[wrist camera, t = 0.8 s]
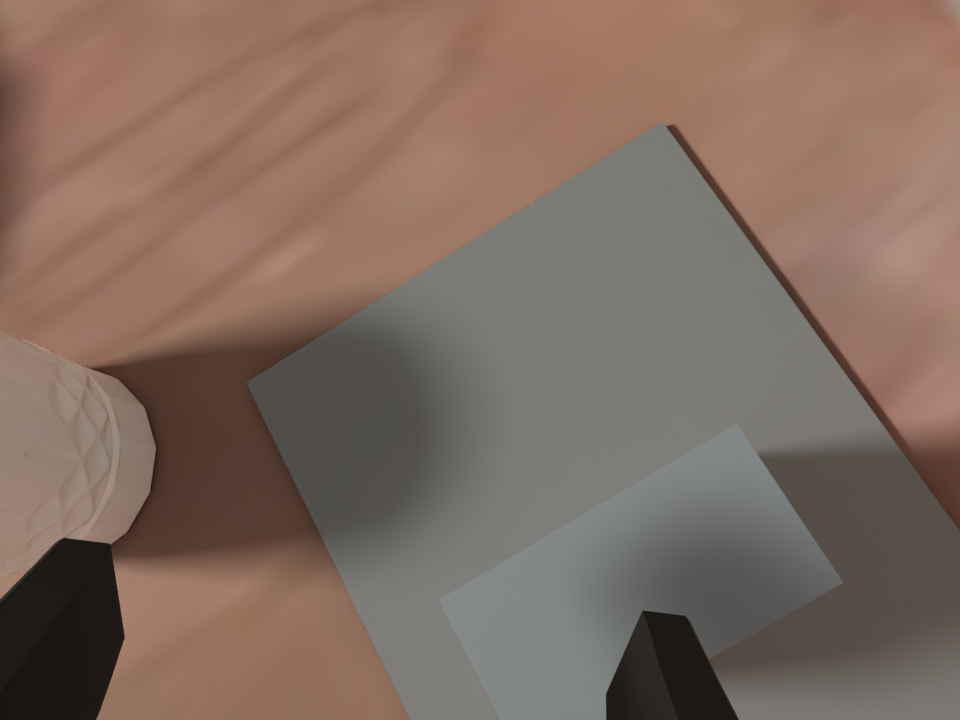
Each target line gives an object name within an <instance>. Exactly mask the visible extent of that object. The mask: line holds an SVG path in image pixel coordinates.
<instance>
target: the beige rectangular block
mask: <svg viewBox="0 0 960 720" xmlns="http://www.w3.org/2000/svg"><path fill="white" fill-rule="evenodd" d="M842 583H843V581H842V580H841V578H840V577H839V575H838V574H837V572H836V571H835V569H834V568H833V566H832V565H831V563H830V562H829V560H828V559H827V557H826V556H825V554H824V553H823V551H822V550H821V548H820V547H819V545H818V544H817V543H816V541H815V540H814V538H813V537H812V535H811V534H810V532H809V531H808V529H807V528H806V526H805V525H804V523H803V522H802V520H801V519H800V517H799V516H798V514H797V513H796V511H795V510H794V508H793V507H792V505H791V504H790V502H789V501H788V499H787V498H786V496H785V495H784V493H783V492H782V490H781V489H780V487H779V486H778V484H777V483H776V481H775V480H774V478H773V477H772V475H771V474H770V472H769V471H768V469H767V468H766V466H765V465H764V463H763V462H762V460H761V459H760V457H759V456H758V454H757V453H756V451H755V450H754V448H753V447H752V445H751V444H750V443H749V441H748V440H747V438H746V437H745V435H744V434H743V432H742V431H741V429H740V428H739V426H738V425H737V424H735V425H733V426H732V427H730V428H728V429H727V430H725V431H723V432H722V433H720V434H718V435H717V436H715V437H713V438H711V439H710V440H708V441H706V442H705V443H703V444H701V445H700V446H698V447H696V448H695V449H693V450H691V451H689V452H688V453H686V454H684V455H683V456H681V457H679V458H678V459H676V460H674V461H673V462H671V463H669V464H667V465H666V466H664V467H662V468H661V469H659V470H657V471H656V472H654V473H652V474H651V475H649V476H647V477H645V478H644V479H642V480H640V481H639V482H637V483H635V484H634V485H632V486H630V487H629V488H627V489H625V490H624V491H622V492H620V493H618V494H617V495H615V496H613V497H612V498H610V499H608V500H607V501H605V502H603V503H602V504H600V505H598V506H596V507H595V508H593V509H591V510H590V511H588V512H586V513H585V514H583V515H581V516H580V517H578V518H576V519H574V520H573V521H571V522H569V523H568V524H566V525H564V526H563V527H561V528H559V529H558V530H556V531H554V532H553V533H551V534H549V535H547V536H546V537H544V538H542V539H541V540H539V541H537V542H536V543H534V544H532V545H531V546H529V547H527V548H525V549H524V550H522V551H520V552H519V553H517V554H515V555H514V556H512V557H510V558H509V559H507V560H505V561H503V562H502V563H500V564H498V565H497V566H495V567H493V568H492V569H490V570H488V571H487V572H485V573H483V574H481V575H480V576H478V577H476V578H475V579H473V580H471V581H470V582H468V583H466V584H465V585H463V586H461V587H460V588H458V589H456V590H454V591H453V592H451V593H449V594H448V595H446V596H444V597H443V598H441V599H439V602H440V604H441V606H442V608H443V610H444V612H445V614H446V616H447V618H448V620H449V622H450V624H451V625H452V627H453V629H454V631H455V633H456V635H457V637H458V639H459V641H460V643H461V645H462V647H463V649H464V650H465V652H466V654H467V656H468V658H469V660H470V662H471V664H472V666H473V668H474V670H475V672H476V674H477V676H478V677H479V679H480V681H481V683H482V685H483V687H484V689H485V691H486V693H487V695H488V697H489V699H490V701H491V702H492V704H493V706H494V708H495V710H496V712H497V714H498V716H499V718H500V720H603V719H605V718H606V692H607V690H608V688H609V686H610V683H611V681H612V679H613V676H614V674H615V672H616V670H617V667H618V665H619V663H620V660H621V658H622V656H623V654H624V651H625V649H626V647H627V644H628V642H629V640H630V638H631V635H632V633H633V631H634V628H635V626H636V624H637V622H638V619H639V617H640V615H641V612H642V610H644V611H652V612H660V613H668V614H676V615H684V616H686V617H687V618H688V620H689V621H690V622H691V624H692V626H693V629H694V631H695V633H696V635H697V637H698V639H699V641H700V643H701V645H702V647H703V649H704V651H705V653H706V656H707V658H708V660H709V659H710V658H712V657H714V656H716V655H717V654H719V653H721V652H723V651H724V650H726V649H728V648H730V647H731V646H733V645H735V644H737V643H739V642H740V641H742V640H744V639H746V638H747V637H749V636H751V635H753V634H754V633H756V632H758V631H760V630H761V629H763V628H765V627H767V626H768V625H770V624H772V623H774V622H775V621H777V620H779V619H781V618H782V617H784V616H786V615H788V614H789V613H791V612H793V611H795V610H796V609H798V608H800V607H802V606H803V605H805V604H807V603H809V602H811V601H812V600H814V599H816V598H818V597H819V596H821V595H823V594H825V593H826V592H828V591H830V590H832V589H833V588H835V587H837V586H839V585H840V584H842Z"/></svg>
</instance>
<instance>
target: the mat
mask: <svg viewBox="0 0 960 720" xmlns="http://www.w3.org/2000/svg"><path fill="white" fill-rule="evenodd" d="M246 384H247V386H248V388H249V390H250V392H251V394H252V396H253V398H254V400H255V402H256V405H257V407H258V409H259V411H260V413H261V415H262V417H263V419H264V421H265V423H266V425H267V427H268V429H269V431H270V433H271V435H272V437H273V439H274V441H275V443H276V446H277V448H278V450H279V452H280V454H281V456H282V458H283V460H284V462H285V464H286V466H287V468H288V470H289V472H290V474H291V476H292V478H293V480H294V482H295V484H296V486H297V489H298V491H299V493H300V495H301V497H302V499H303V501H304V503H305V505H306V507H307V509H308V511H309V513H310V515H311V517H312V519H313V521H314V523H315V525H316V527H317V530H318V532H319V534H320V536H321V538H322V540H323V542H324V544H325V546H326V548H327V550H328V552H329V554H330V556H331V558H332V560H333V562H334V564H335V566H336V568H337V570H338V573H339V575H340V577H341V579H342V581H343V583H344V585H345V587H346V589H347V591H348V593H349V595H350V597H351V599H352V601H353V603H354V605H355V607H356V609H357V611H358V614H359V616H360V618H361V620H362V622H363V624H364V626H365V628H366V630H367V632H368V634H369V636H370V638H371V640H372V642H373V644H374V646H375V648H376V650H377V652H378V654H379V657H380V659H381V661H382V663H383V665H384V667H385V669H386V671H387V673H388V675H389V677H390V679H391V681H392V683H393V685H394V687H395V689H396V691H397V693H398V695H399V698H400V700H401V702H402V704H403V706H404V708H405V710H406V712H407V714H408V716H409V718H410V720H500V718H499V716H498V714H497V712H496V710H495V708H494V706H493V704H492V702H491V701H490V699H489V697H488V695H487V693H486V691H485V689H484V687H483V685H482V683H481V681H480V679H479V677H478V676H477V674H476V672H475V670H474V668H473V666H472V664H471V662H470V660H469V658H468V656H467V654H466V652H465V650H464V649H463V647H462V645H461V643H460V641H459V639H458V637H457V635H456V633H455V631H454V629H453V627H452V625H451V624H450V622H449V620H448V618H447V616H446V614H445V612H444V610H443V608H442V606H441V604H440V602H439V599H441V598H443V597H444V596H446V595H448V594H449V593H451V592H453V591H454V590H456V589H458V588H460V587H461V586H463V585H465V584H466V583H468V582H470V581H471V580H473V579H475V578H476V577H478V576H480V575H481V574H483V573H485V572H487V571H488V570H490V569H492V568H493V567H495V566H497V565H498V564H500V563H502V562H503V561H505V560H507V559H509V558H510V557H512V556H514V555H515V554H517V553H519V552H520V551H522V550H524V549H525V548H527V547H529V546H531V545H532V544H534V543H536V542H537V541H539V540H541V539H542V538H544V537H546V536H547V535H549V534H551V533H553V532H554V531H556V530H558V529H559V528H561V527H563V526H564V525H566V524H568V523H569V522H571V521H573V520H574V519H576V518H578V517H580V516H581V515H583V514H585V513H586V512H588V511H590V510H591V509H593V508H595V507H596V506H598V505H600V504H602V503H603V502H605V501H607V500H608V499H610V498H612V497H613V496H615V495H617V494H618V493H620V492H622V491H624V490H625V489H627V488H629V487H630V486H632V485H634V484H635V483H637V482H639V481H640V480H642V479H644V478H645V477H647V476H649V475H651V474H652V473H654V472H656V471H657V470H659V469H661V468H662V467H664V466H666V465H667V464H669V463H671V462H673V461H674V460H676V459H678V458H679V457H681V456H683V455H684V454H686V453H688V452H689V451H691V450H693V449H695V448H696V447H698V446H700V445H701V444H703V443H705V442H706V441H708V440H710V439H711V438H713V437H715V436H717V435H718V434H720V433H722V432H723V431H725V430H727V429H728V428H730V427H732V426H733V425H735V424H737V425H738V426H739V428H740V429H741V431H742V432H743V434H744V435H745V437H746V438H747V440H748V441H749V443H750V444H751V445H752V447H753V448H754V450H755V451H756V453H757V454H758V456H759V457H760V459H761V460H762V462H763V463H764V465H765V466H766V468H767V469H768V471H769V472H770V474H771V475H772V477H773V478H774V480H775V481H776V483H777V484H778V486H779V487H780V489H781V490H782V492H783V493H784V495H785V496H786V498H787V499H788V501H789V502H790V504H791V505H792V507H793V508H794V510H795V511H796V513H797V514H798V516H799V517H800V519H801V520H802V522H803V523H804V525H805V526H806V528H807V529H808V531H809V532H810V534H811V535H812V537H813V538H814V540H815V541H816V543H817V544H818V545H819V547H820V548H821V550H822V551H823V553H824V554H825V556H826V557H827V559H828V560H829V562H830V563H831V565H832V566H833V568H834V569H835V571H836V572H837V574H838V575H839V577H840V578H841V580H842V581H843V583H842V584H840V585H839V586H837V587H835V588H833V589H832V590H830V591H828V592H826V593H825V594H823V595H821V596H819V597H818V598H816V599H814V600H812V601H811V602H809V603H807V604H805V605H803V606H802V607H800V608H798V609H796V610H795V611H793V612H791V613H789V614H788V615H786V616H784V617H782V618H781V619H779V620H777V621H775V622H774V623H772V624H770V625H768V626H767V627H765V628H763V629H761V630H760V631H758V632H756V633H754V634H753V635H751V636H749V637H747V638H746V639H744V640H742V641H740V642H739V643H737V644H735V645H733V646H731V647H730V648H728V649H726V650H724V651H723V652H721V653H719V654H717V655H716V656H714V657H712V658H710V659H709V662H710V664H711V666H712V668H713V670H714V672H715V674H716V676H717V678H718V680H719V682H720V684H721V686H722V688H723V690H724V692H725V693H726V695H727V697H728V699H729V701H730V703H731V705H732V707H733V709H734V711H735V713H736V715H737V717H738V719H739V720H960V531H959V529H958V528H957V526H956V525H955V524H954V522H953V521H952V519H951V518H950V517H949V515H948V514H947V513H946V511H945V510H944V508H943V507H942V506H941V504H940V503H939V502H938V500H937V499H936V497H935V496H934V495H933V493H932V492H931V491H930V489H929V488H928V486H927V485H926V484H925V482H924V481H923V480H922V478H921V477H920V475H919V474H918V473H917V471H916V470H915V469H914V467H913V466H912V464H911V463H910V462H909V460H908V459H907V458H906V456H905V455H904V453H903V452H902V451H901V449H900V448H899V447H898V445H897V444H896V442H895V441H894V440H893V438H892V437H891V435H890V434H889V433H888V431H887V430H886V429H885V427H884V426H883V424H882V423H881V422H880V420H879V419H878V418H877V416H876V415H875V413H874V412H873V411H872V409H871V408H870V407H869V405H868V404H867V402H866V401H865V400H864V398H863V397H862V396H861V394H860V393H859V391H858V390H857V389H856V387H855V386H854V385H853V383H852V382H851V380H850V379H849V378H848V376H847V375H846V374H845V372H844V371H843V369H842V368H841V367H840V365H839V364H838V362H837V361H836V360H835V358H834V357H833V356H832V354H831V353H830V351H829V350H828V349H827V347H826V346H825V345H824V343H823V342H822V340H821V339H820V338H819V336H818V335H817V334H816V332H815V331H814V329H813V328H812V327H811V325H810V324H809V323H808V321H807V320H806V318H805V317H804V316H803V314H802V313H801V312H800V310H799V309H798V307H797V306H796V305H795V303H794V302H793V301H792V299H791V298H790V296H789V295H788V294H787V292H786V291H785V289H784V288H783V287H782V285H781V284H780V283H779V281H778V280H777V278H776V277H775V276H774V274H773V273H772V272H771V270H770V269H769V267H768V266H767V265H766V263H765V262H764V261H763V259H762V258H761V256H760V255H759V254H758V252H757V251H756V250H755V248H754V247H753V245H752V244H751V243H750V241H749V240H748V239H747V237H746V236H745V234H744V233H743V232H742V230H741V229H740V228H739V226H738V225H737V223H736V222H735V221H734V219H733V218H732V216H731V215H730V214H729V212H728V211H727V210H726V208H725V207H724V205H723V204H722V203H721V201H720V200H719V199H718V197H717V196H716V194H715V193H714V192H713V190H712V189H711V188H710V186H709V185H708V183H707V182H706V181H705V179H704V178H703V177H702V175H701V174H700V172H699V171H698V170H697V168H696V167H695V166H694V164H693V163H692V161H691V160H690V159H689V157H688V156H687V155H686V153H685V152H684V150H683V149H682V148H681V146H680V145H679V143H678V142H677V141H676V139H675V138H674V137H673V135H672V134H671V132H670V131H669V130H668V128H667V127H666V126H665V124H664V123H663V122H661V123H660V124H658V125H656V126H655V127H653V128H652V129H650V130H648V131H647V132H645V133H644V134H642V135H640V136H639V137H637V138H636V139H634V140H632V141H631V142H629V143H628V144H626V145H624V146H623V147H621V148H620V149H618V150H616V151H615V152H613V153H612V154H610V155H608V156H607V157H605V158H604V159H602V160H600V161H599V162H597V163H596V164H594V165H592V166H591V167H589V168H588V169H586V170H584V171H583V172H581V173H580V174H578V175H576V176H575V177H573V178H572V179H570V180H568V181H567V182H565V183H564V184H562V185H561V186H559V187H557V188H556V189H554V190H553V191H551V192H549V193H548V194H546V195H545V196H543V197H541V198H540V199H538V200H537V201H535V202H533V203H532V204H530V205H529V206H527V207H525V208H524V209H522V210H521V211H519V212H517V213H516V214H514V215H513V216H511V217H509V218H508V219H506V220H505V221H503V222H501V223H500V224H498V225H497V226H495V227H493V228H492V229H490V230H489V231H487V232H485V233H484V234H482V235H481V236H479V237H477V238H476V239H474V240H473V241H471V242H469V243H468V244H466V245H465V246H463V247H461V248H460V249H458V250H457V251H455V252H454V253H452V254H450V255H449V256H447V257H446V258H444V259H442V260H441V261H439V262H438V263H436V264H434V265H433V266H431V267H430V268H428V269H426V270H425V271H423V272H422V273H420V274H418V275H417V276H415V277H414V278H412V279H410V280H409V281H407V282H406V283H404V284H402V285H401V286H399V287H398V288H396V289H394V290H393V291H391V292H390V293H388V294H386V295H385V296H383V297H382V298H380V299H378V300H377V301H375V302H374V303H372V304H370V305H369V306H367V307H366V308H364V309H362V310H361V311H359V312H358V313H356V314H354V315H353V316H351V317H350V318H348V319H347V320H345V321H343V322H342V323H340V324H339V325H337V326H335V327H334V328H332V329H331V330H329V331H327V332H326V333H324V334H323V335H321V336H319V337H318V338H316V339H315V340H313V341H311V342H310V343H308V344H307V345H305V346H303V347H302V348H300V349H299V350H297V351H295V352H294V353H292V354H291V355H289V356H287V357H286V358H284V359H283V360H281V361H279V362H278V363H276V364H275V365H273V366H271V367H270V368H268V369H267V370H265V371H263V372H262V373H260V374H259V375H257V376H255V377H254V378H252V379H251V380H249V381H248V382H246ZM603 720H606V718H605V719H603Z"/></svg>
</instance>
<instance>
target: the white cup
mask: <svg viewBox="0 0 960 720" xmlns="http://www.w3.org/2000/svg"><path fill="white" fill-rule="evenodd" d="M155 454H156V445H155V442H154V438H153V435H152V431H151V428H150V424H149V421H148V417H147V414H146V410H145V408H144V406H143V405H142V404H141V403H140V402H139V401H138V400H137V399H136V398H135V397H134V396H133V394H132V393H131V392H130V391H129V390H128V389H127V388H126V387H125V386H124V385H123V384H122V383H121V382H120V381H119V380H118V379H117V378H115V377H112V376H109V375H106V374H103V373H100V372H98V371H95V370H92V369H89V368H86V367H83V366H80V365H78V364H76V363H73V362H71V361H69V360H66V359H65V358H63V357H61V356H59V355H58V354H56V353H55V352H53V351H52V350H49V349H46V348H43V347H41V346H39V345H37V344H34V343H32V342H29V341H27V340H24V339H22V338H19V337H16V336H13V335H11V334H8V333H6V332H4V331H2V330H0V577H2V576H10V575H14V574H16V573H18V572H20V571H23V570H26V569H30V568H31V567H32V566H33V565H34V564H35V563H36V562H37V561H38V560H39V559H40V558H41V557H42V556H43V555H44V554H45V553H46V552H47V551H48V550H49V549H50V548H51V547H52V546H53V545H54V544H55V542H57V541H59V540H60V539H62V538H70V539H78V540H86V541H94V542H102V543H110V545H111V544H112V543H113V542H115V541H116V540H117V539H119V538H120V537H122V536H123V535H124V534H126V533H127V531H128V530H129V528H130V526H131V525H132V523H133V521H134V519H135V518H136V516H137V514H138V513H139V511H140V509H141V507H142V506H143V504H144V502H145V500H146V499H147V497H148V495H149V494H150V489H151V482H152V475H153V468H154V461H155Z"/></svg>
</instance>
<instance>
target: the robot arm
mask: <svg viewBox="0 0 960 720" xmlns="http://www.w3.org/2000/svg"><path fill="white" fill-rule="evenodd" d="M124 638H125V636H124V630H123V623H122V617H121V610H120V604H119V597H118V591H117V584H116V578H115V571H114V565H113V558H112V552H111V545H110V543H102V542H94V541H86V540H78V539H70V538H62V539H60V540H59V541H57V542H55V544H54V545H53V546H52V547H51V548H50V549H49V550H48V551H47V552H46V553H45V554H44V555H43V556H42V557H41V558H40V559H39V560H38V561H37V562H36V563H35V564H34V565H33V566H32V567H31V568H30V570H29V571H28V572H27V573H26V574H25V575H24V576H23V577H22V578H21V579H20V580H19V581H18V582H17V583H16V584H15V585H14V586H13V587H12V588H11V589H10V590H9V591H8V592H7V593H6V594H5V595H4V596H3V597H2V598H1V599H0V720H96V719H97V716H98V714H99V712H100V709H101V706H102V703H103V700H104V697H105V694H106V692H107V689H108V686H109V683H110V680H111V677H112V674H113V671H114V668H115V665H116V662H117V659H118V656H119V653H120V650H121V647H122V644H123V641H124ZM606 720H739V719H738V717H737V715H736V713H735V711H734V709H733V707H732V705H731V703H730V701H729V699H728V697H727V695H726V693H725V692H724V690H723V688H722V686H721V684H720V682H719V680H718V678H717V676H716V674H715V672H714V670H713V668H712V666H711V664H710V662H709V660H708V658H707V656H706V653H705V651H704V649H703V647H702V645H701V643H700V641H699V639H698V637H697V635H696V633H695V631H694V629H693V626H692V624H691V622H690V621H689V620H688V618H687V617H686V616H684V615H676V614H668V613H660V612H652V611H644V610H642V612H641V615H640V617H639V619H638V622H637V624H636V626H635V628H634V631H633V633H632V635H631V638H630V640H629V642H628V644H627V647H626V649H625V651H624V654H623V656H622V658H621V660H620V663H619V665H618V667H617V670H616V672H615V674H614V676H613V679H612V681H611V683H610V686H609V688H608V690H607V692H606Z"/></svg>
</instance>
